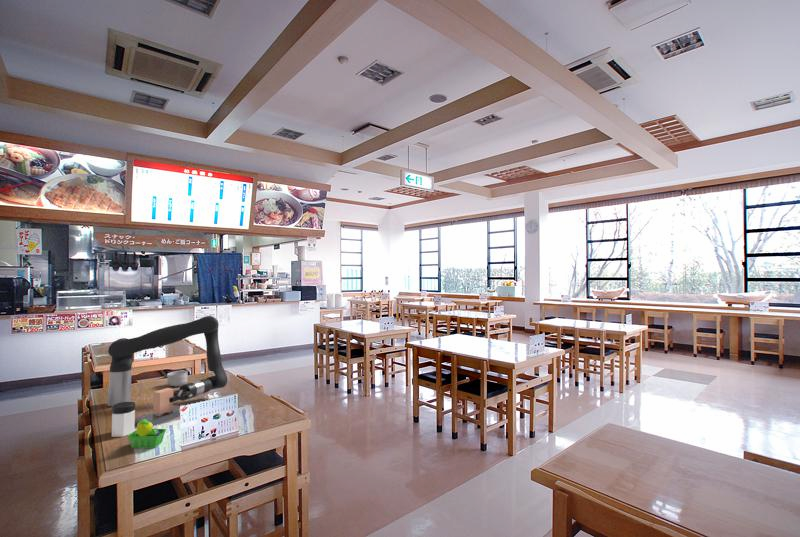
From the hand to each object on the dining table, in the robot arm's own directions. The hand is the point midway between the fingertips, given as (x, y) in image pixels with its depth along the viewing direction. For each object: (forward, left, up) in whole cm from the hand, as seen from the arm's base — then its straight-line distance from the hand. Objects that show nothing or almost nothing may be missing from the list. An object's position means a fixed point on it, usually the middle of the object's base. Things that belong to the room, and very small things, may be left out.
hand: (163, 399), depth 186 cm
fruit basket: (0, -31, -9) cm, 32 cm away
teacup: (-3, +59, -9) cm, 60 cm away
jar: (-12, -14, -9) cm, 21 cm away
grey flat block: (0, 0, -9) cm, 9 cm away
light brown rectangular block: (0, 0, -9) cm, 9 cm away
